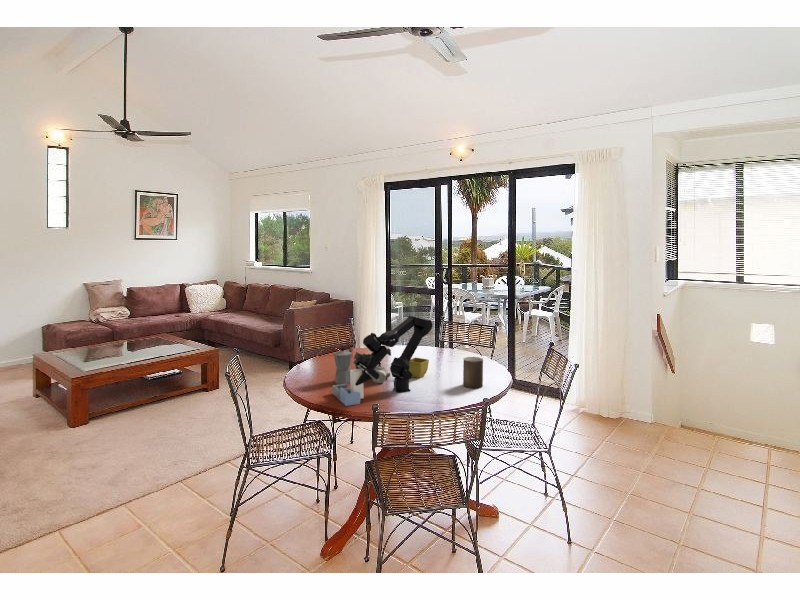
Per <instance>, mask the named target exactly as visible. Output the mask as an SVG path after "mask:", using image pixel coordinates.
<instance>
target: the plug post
mask: <svg viewBox="0 0 800 600" xmlns="http://www.w3.org/2000/svg"><path fill="white" fill-rule="evenodd" d="M361 375H362V370H361V369H356V368H355V369H350V383H349V384H350V388H351V393H356V392H360V400H361V399H364V383H362V384H360V385H358V386H356V385H355V384H356V382H357V380H358V379H359V377H360V376H361Z"/></svg>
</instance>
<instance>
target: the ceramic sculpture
mask: <svg viewBox="0 0 800 600" xmlns="http://www.w3.org/2000/svg"><path fill="white" fill-rule="evenodd" d="M374 370H376V371H377V372H378V373H379V378H378V379H377V380H376V379H374V377H372V378H373V379H371V380H372V381H373V383H375V384H382V383H384V382H385V381H386V379H388V378H389V377H391V372H387V369H386V368H385V367H384V366H382V365H377V367H376V368H375V369H374Z"/></svg>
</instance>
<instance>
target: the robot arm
mask: <svg viewBox="0 0 800 600" xmlns="http://www.w3.org/2000/svg"><path fill="white" fill-rule="evenodd" d="M433 327H434V326H433V322H432V320H431V319H426V318H421V317H418V316H414V315H409V316H407V318H406V319H405V320H404V321H403V322H401V323H400V324H398V325H396V327H394V328H393V329H390V330H387V331H385V332H383V333H381V334H380V336H379V335H378V336H377V334H376V333H375V332H371V333H370V334H368V335H367V336H365V337H364V338H363V339H362V343H363V345H364V346H365V347H366V348H367V349H368V351H370V352H371V353H367V354H366V353H359V352H355V354H354V356H353V359H354V361H353V362H352V363H353V364H354V366H355V369H361V370H362V375H361V376H360V377H359V379H358V380H357V382H356V384H355V385H356V386H358V385H360V384H362V383H363V384H364V383H366V382H368V381H371V380H372V379H373V378H372V377H374V379H376V380H377V379H378V378H379V373H378V372H377V371H376V370H374V369H375V368H376V367H377V366H378V365H381V364H382V363H381V362H382V361H383V360H384V359H385V357H386V356H387V355H388V356H390V357H391V356H392V352H391V351H392V349H390V348H394V347H395V346H396V345H397V344H398V343H399V341H400V338H401V337H403V335H405V334H406V333H407V332H409V330H411V329H412V328H413V334H412V336H411V337H410V339H409V340H408V342H407V344H406V346H405V347H404V349H403V351H402V352H401V354H400V356H399V357H396V356H395V357H394V358H393V360H392V362H391V363H390V367H389V371H390V375H391V376H392V378H394V380H393V388H392V390H394V391H395V392H397V393H406V392H411V389H410V380H411V379H412V378H413V377H412V373H411V372H410V371H409V367H410V366H409V361H410V359H412V358H413V356H414V354H415V352H416V351H417V348H418V346H419V344H420V343H421V341H422V340H423V337H425V336H427V335H429V333H430V332H431V331H432V330H433ZM387 347H389V348H387ZM381 366H382V365H381Z"/></svg>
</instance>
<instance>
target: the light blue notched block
mask: <svg viewBox="0 0 800 600" xmlns="http://www.w3.org/2000/svg"><path fill="white" fill-rule="evenodd" d="M347 391H351V387H347V388H344V389H343V388H340V400H339V401H340V403H342V404H343V405H345V406H346V407H348V406H354V405H360V404H361V399H360V392H356V393H349V394H348V392H347Z"/></svg>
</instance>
